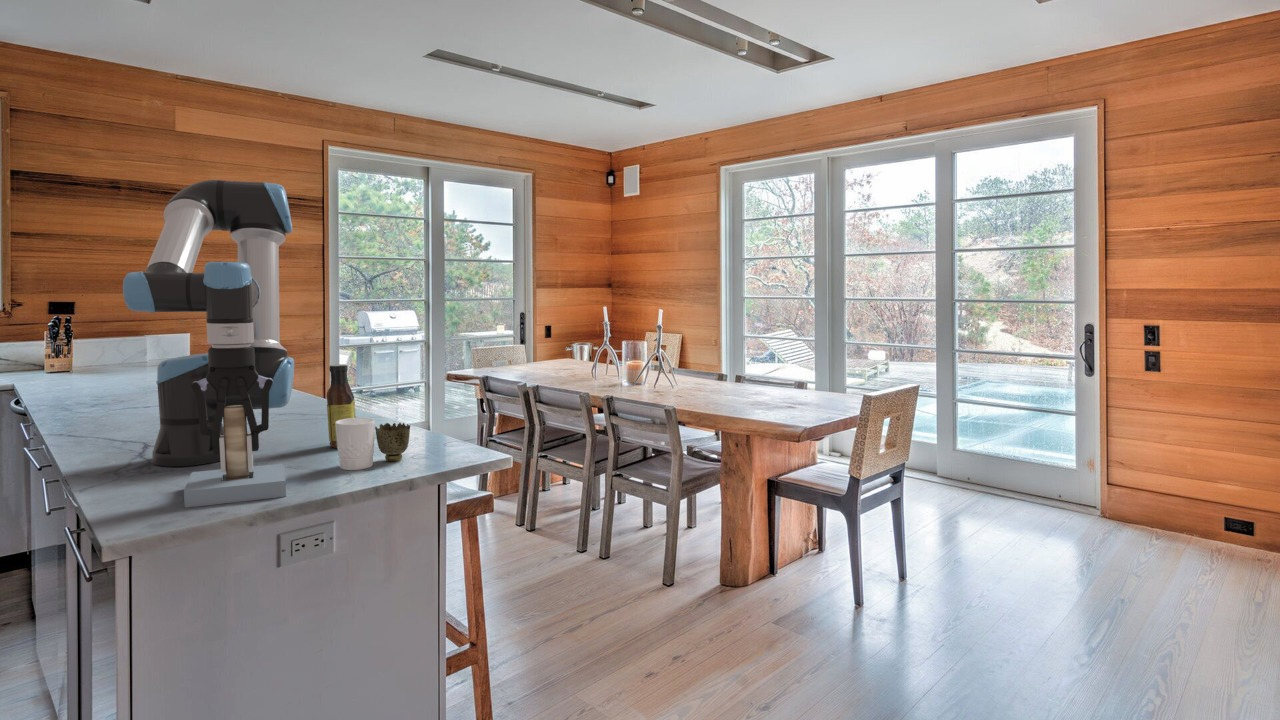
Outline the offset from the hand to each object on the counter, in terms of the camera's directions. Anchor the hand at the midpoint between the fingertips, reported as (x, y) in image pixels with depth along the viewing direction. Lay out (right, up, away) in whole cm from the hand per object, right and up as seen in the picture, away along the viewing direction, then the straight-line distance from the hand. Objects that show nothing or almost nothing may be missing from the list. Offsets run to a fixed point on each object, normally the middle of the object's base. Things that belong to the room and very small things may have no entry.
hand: (237, 469), depth 136 cm
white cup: (+15, -3, +20) cm, 25 cm away
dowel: (0, -4, 0) cm, 4 cm away
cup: (+21, -2, +26) cm, 33 cm away
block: (0, -4, +1) cm, 4 cm away
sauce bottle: (+4, -1, +39) cm, 39 cm away
